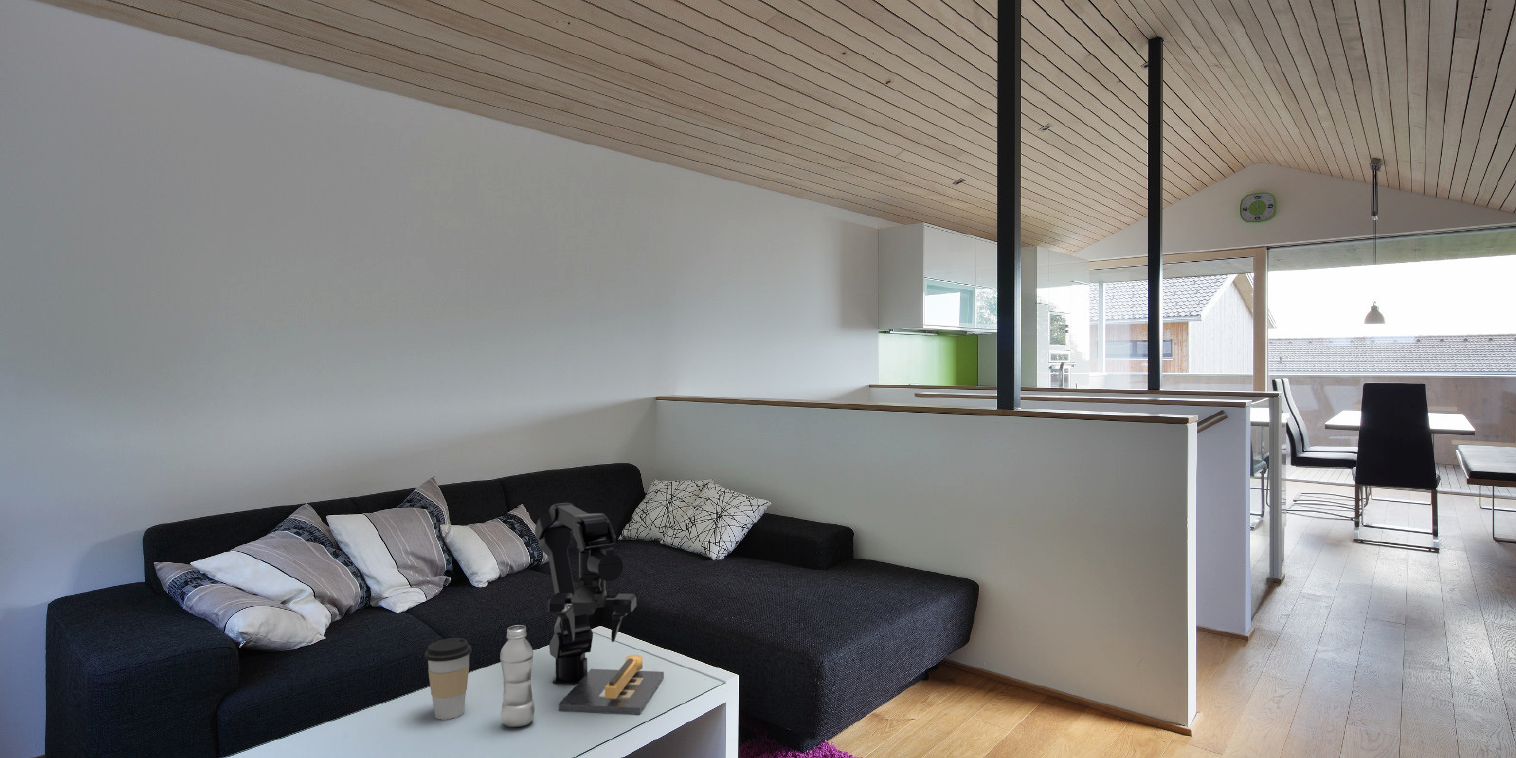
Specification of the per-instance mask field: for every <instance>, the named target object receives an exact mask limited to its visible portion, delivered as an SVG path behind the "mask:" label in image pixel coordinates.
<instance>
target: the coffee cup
mask: <svg viewBox="0 0 1516 758" xmlns="http://www.w3.org/2000/svg"><path fill="white" fill-rule="evenodd" d="M472 651H473V650H472V646H471V645H470V644H469V642H468V640H467V639H466V638H462V637H449V638H443V639H440V640H436V641H433V642H431V643H430V644H429V645H428V647H427V650H425V653H424V656H423V657H424V659H425V660H427V663H428V670H427V671H428V678H429V687H430V694H431V696H432V703H433V712H434V717H435V719H438V720H440V719H441V721H445V720H447V719H448V720H452V718H453V719H455V718H458V716H459V717H460V715H461V716H463V714H464V713H465V707H466V706H465V705H466V697H467V691H468V684H469V683H468V682H469V680H468V679H469V672H470V669H469V668H470V654H471V653H472Z"/></svg>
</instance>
